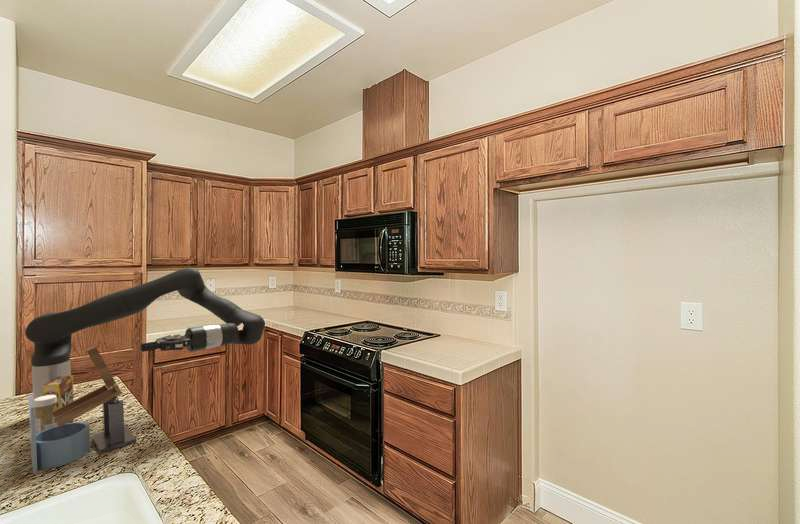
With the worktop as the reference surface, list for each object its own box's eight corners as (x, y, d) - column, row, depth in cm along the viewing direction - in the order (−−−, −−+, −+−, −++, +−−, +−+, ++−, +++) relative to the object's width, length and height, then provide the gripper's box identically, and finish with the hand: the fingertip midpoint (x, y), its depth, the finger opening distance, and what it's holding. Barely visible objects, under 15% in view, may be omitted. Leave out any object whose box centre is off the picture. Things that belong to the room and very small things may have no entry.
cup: (31, 457, 97) (28, 396, 96) (86, 441, 105) (83, 384, 105) (33, 474, 89) (30, 408, 89) (92, 455, 97) (90, 394, 97)
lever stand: (92, 438, 106) (90, 393, 106) (126, 428, 112) (125, 385, 112) (99, 454, 98) (97, 404, 98) (136, 442, 104) (134, 395, 104)
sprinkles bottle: (56, 446, 102) (54, 397, 102) (33, 451, 100) (31, 401, 100) (60, 439, 106) (58, 392, 106) (38, 444, 104) (36, 396, 103)
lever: (59, 423, 99) (27, 373, 95) (119, 391, 109) (93, 344, 104) (61, 431, 95) (28, 379, 90) (124, 397, 104) (97, 348, 100)
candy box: (61, 435, 108) (58, 383, 108) (42, 438, 107) (39, 385, 107) (75, 422, 117) (73, 374, 116) (58, 425, 115) (56, 376, 115)
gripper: (196, 323, 127) (135, 331, 114) (211, 328, 118) (146, 338, 105) (197, 345, 127) (135, 356, 114) (212, 352, 118) (147, 365, 105)
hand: (141, 347), depth 110 cm, fingers closed
